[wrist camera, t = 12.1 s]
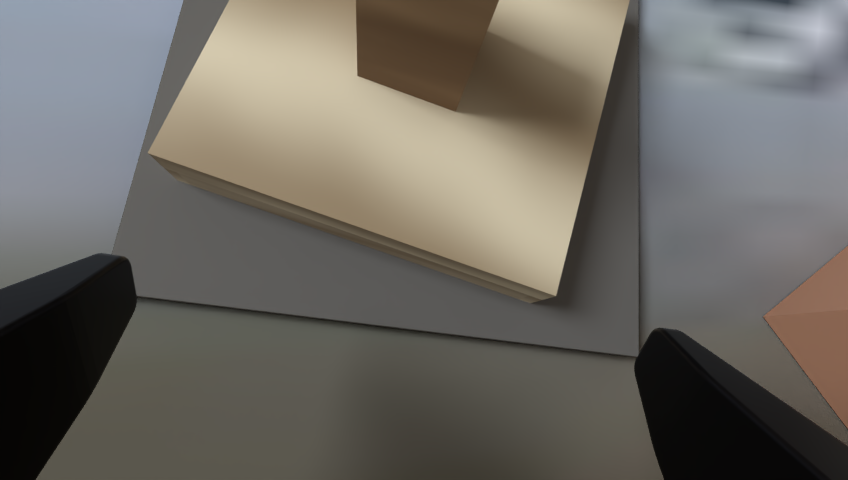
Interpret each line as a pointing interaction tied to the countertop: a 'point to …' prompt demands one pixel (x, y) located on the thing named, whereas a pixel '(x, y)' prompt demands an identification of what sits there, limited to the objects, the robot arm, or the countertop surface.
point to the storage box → (819, 330)
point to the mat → (377, 271)
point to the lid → (406, 125)
